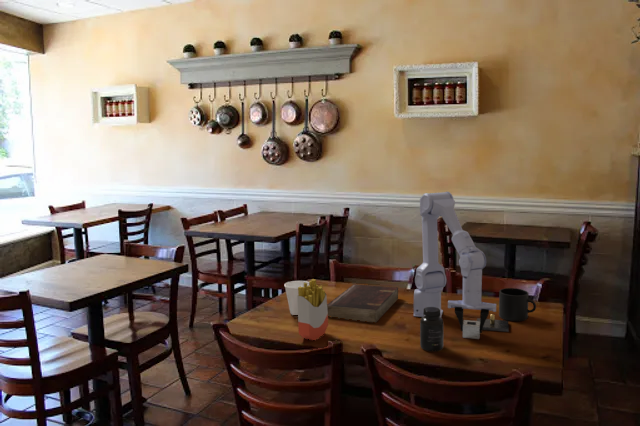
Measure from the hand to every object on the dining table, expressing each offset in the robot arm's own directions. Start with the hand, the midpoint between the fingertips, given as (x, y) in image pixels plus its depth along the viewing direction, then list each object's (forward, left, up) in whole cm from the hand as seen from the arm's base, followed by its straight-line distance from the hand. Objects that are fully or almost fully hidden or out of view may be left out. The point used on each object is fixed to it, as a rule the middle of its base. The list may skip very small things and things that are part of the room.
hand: (471, 331), depth 165 cm
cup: (-61, +6, -2) cm, 61 cm away
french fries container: (-48, -14, -2) cm, 50 cm away
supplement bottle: (-11, -13, -2) cm, 17 cm away
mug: (+14, +21, -2) cm, 25 cm away
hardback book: (-40, +19, -2) cm, 44 cm away
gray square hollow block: (0, 0, -1) cm, 1 cm away
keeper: (+6, +10, -1) cm, 12 cm away
